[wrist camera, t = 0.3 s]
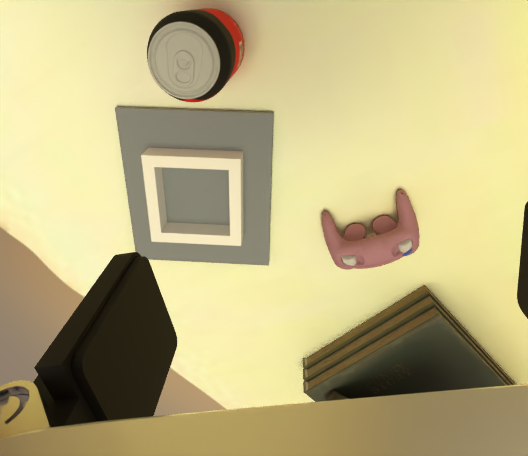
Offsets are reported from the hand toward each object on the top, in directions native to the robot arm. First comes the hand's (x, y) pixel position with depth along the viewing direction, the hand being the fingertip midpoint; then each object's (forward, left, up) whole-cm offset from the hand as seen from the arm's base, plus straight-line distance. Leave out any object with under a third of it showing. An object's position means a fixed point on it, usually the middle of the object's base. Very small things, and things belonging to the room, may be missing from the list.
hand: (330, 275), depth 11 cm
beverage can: (-2, -9, -35) cm, 36 cm away
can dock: (+13, -11, -35) cm, 38 cm away
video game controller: (+16, +8, -35) cm, 39 cm away
